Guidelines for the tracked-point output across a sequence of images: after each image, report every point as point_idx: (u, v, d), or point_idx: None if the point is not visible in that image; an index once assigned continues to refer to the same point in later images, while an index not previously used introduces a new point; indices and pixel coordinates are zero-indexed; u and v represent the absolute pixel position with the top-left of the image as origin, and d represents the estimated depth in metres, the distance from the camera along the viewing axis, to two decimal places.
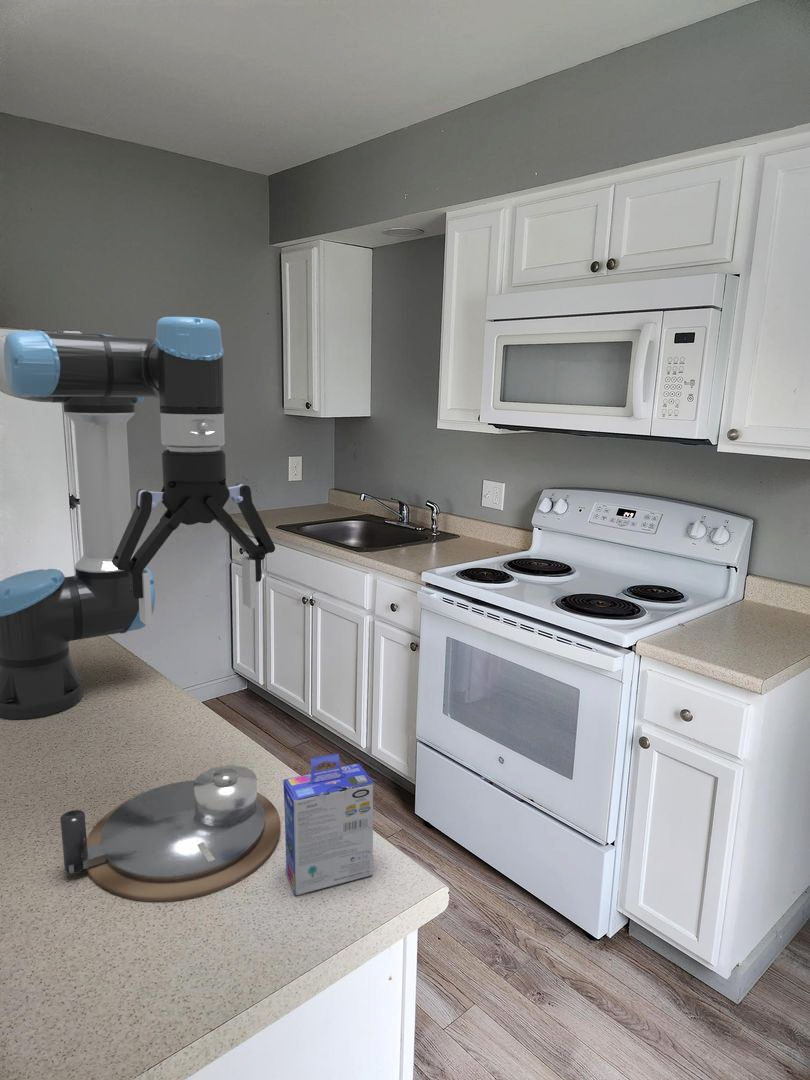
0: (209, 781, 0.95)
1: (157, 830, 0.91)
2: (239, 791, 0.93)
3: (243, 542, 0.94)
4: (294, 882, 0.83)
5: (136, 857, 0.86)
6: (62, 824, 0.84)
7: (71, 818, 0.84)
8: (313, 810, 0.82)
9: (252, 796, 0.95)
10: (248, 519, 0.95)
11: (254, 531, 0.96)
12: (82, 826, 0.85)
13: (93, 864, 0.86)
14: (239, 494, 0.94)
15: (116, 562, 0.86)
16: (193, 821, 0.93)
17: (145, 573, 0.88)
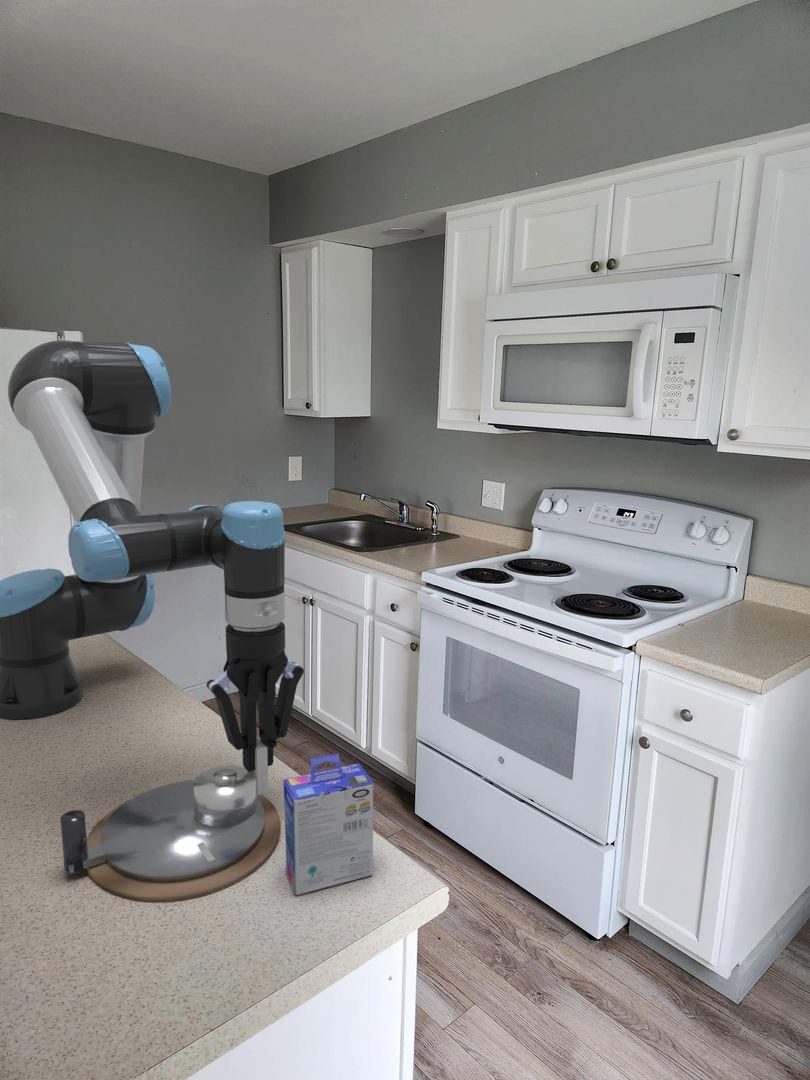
0: (209, 781, 0.95)
1: (157, 830, 0.91)
2: (238, 791, 0.93)
3: (268, 722, 0.96)
4: (294, 882, 0.83)
5: (136, 857, 0.86)
6: (62, 824, 0.84)
7: (71, 818, 0.84)
8: (313, 810, 0.82)
9: (252, 796, 0.94)
10: (282, 696, 0.98)
11: (279, 710, 0.98)
12: (82, 826, 0.85)
13: (93, 864, 0.86)
14: (291, 671, 0.98)
15: (233, 745, 0.94)
16: (193, 821, 0.93)
17: (258, 749, 0.96)
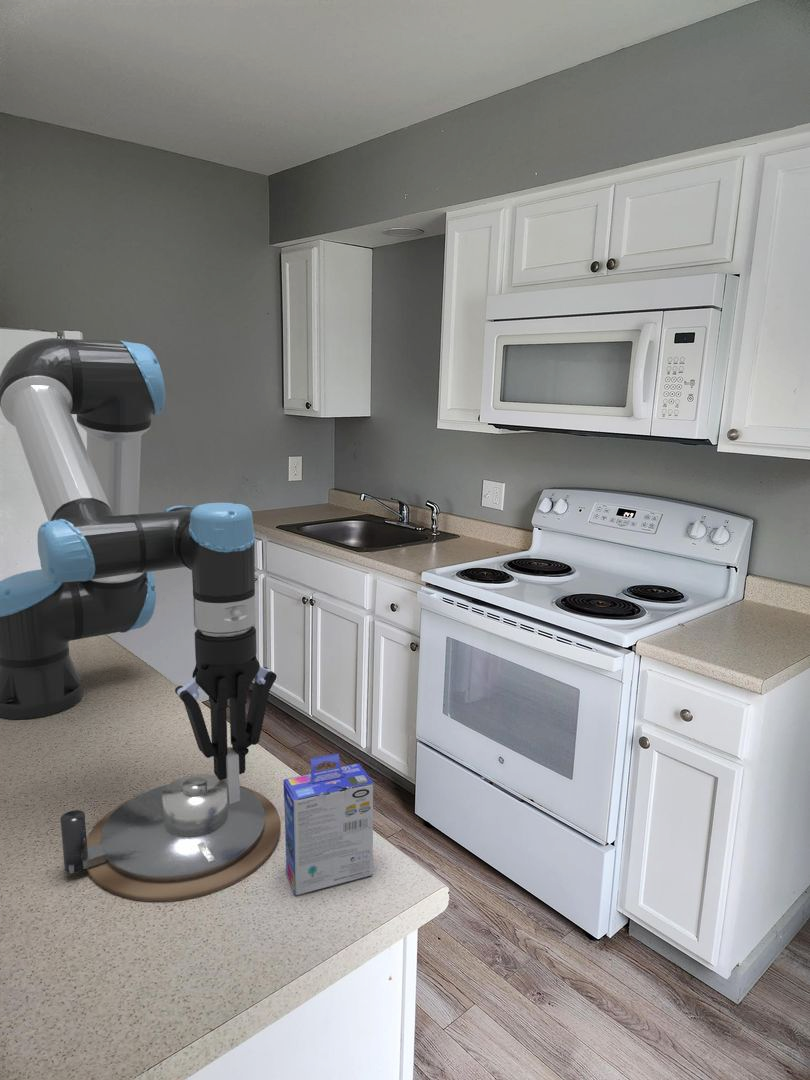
0: (178, 790, 0.93)
1: (157, 830, 0.91)
2: (207, 801, 0.91)
3: (239, 729, 0.94)
4: (294, 882, 0.83)
5: (136, 858, 0.86)
6: (62, 824, 0.84)
7: (71, 818, 0.84)
8: (313, 810, 0.82)
9: (222, 806, 0.92)
10: (254, 703, 0.96)
11: (251, 716, 0.96)
12: (82, 826, 0.85)
13: (93, 864, 0.86)
14: (263, 677, 0.95)
15: (203, 753, 0.92)
16: None
17: (229, 756, 0.94)
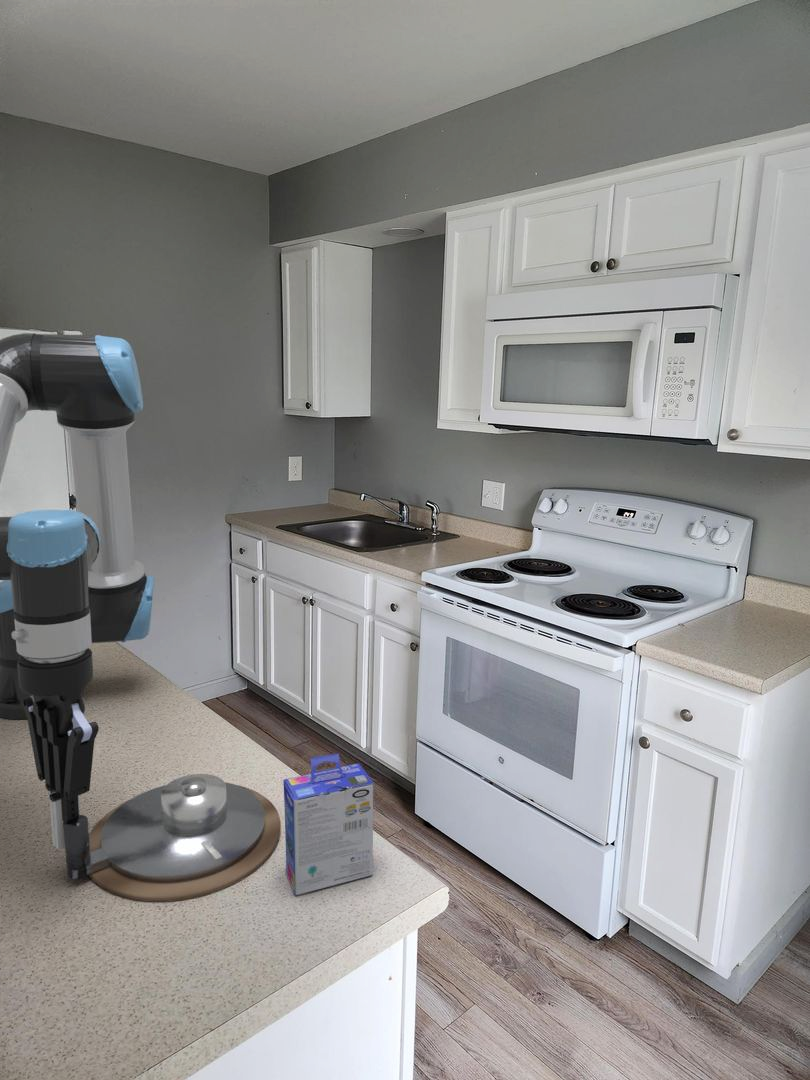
0: (177, 791, 0.93)
1: (158, 831, 0.91)
2: (209, 800, 0.91)
3: (55, 771, 0.82)
4: (294, 882, 0.83)
5: (141, 859, 0.86)
6: (65, 830, 0.83)
7: (74, 823, 0.83)
8: (313, 810, 0.82)
9: (222, 804, 0.93)
10: None
11: None
12: (86, 831, 0.84)
13: (97, 868, 0.85)
14: None
15: None
16: None
17: (53, 794, 0.84)
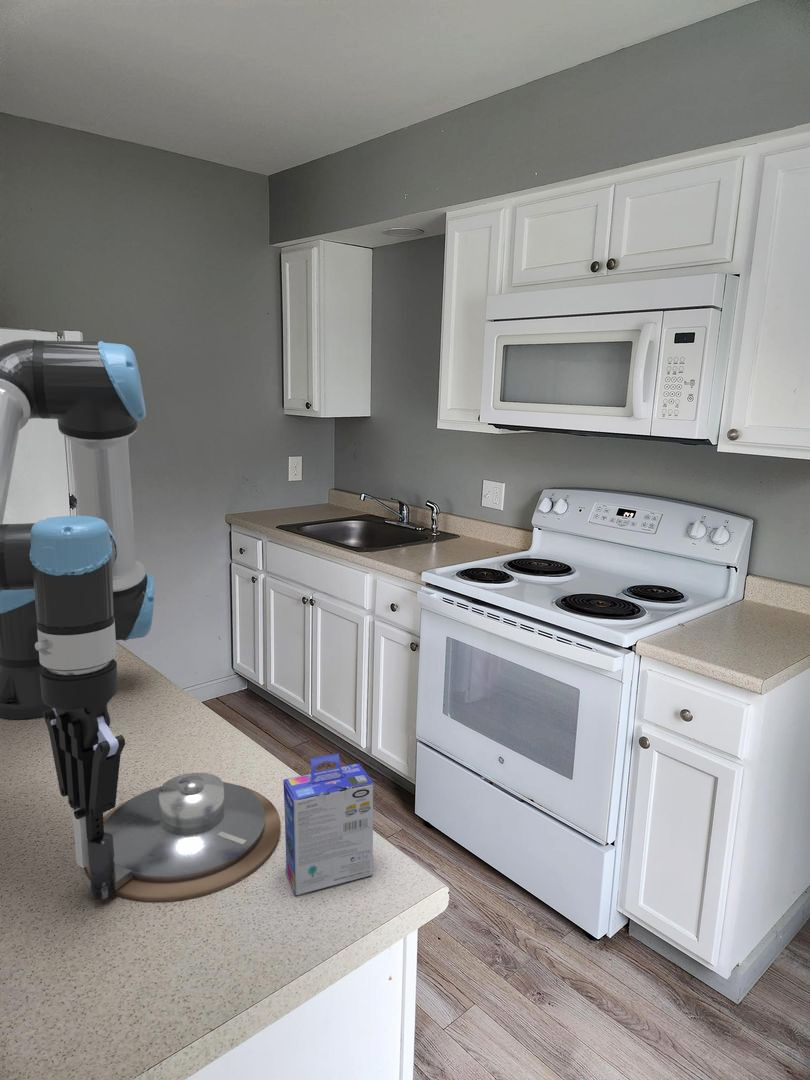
0: (175, 793, 0.92)
1: (165, 836, 0.90)
2: (214, 793, 0.92)
3: (80, 787, 0.79)
4: (294, 882, 0.83)
5: (168, 863, 0.85)
6: (94, 849, 0.79)
7: (101, 841, 0.80)
8: (313, 810, 0.82)
9: (223, 796, 0.94)
10: None
11: None
12: (113, 846, 0.81)
13: (122, 883, 0.83)
14: None
15: None
16: None
17: (76, 810, 0.81)
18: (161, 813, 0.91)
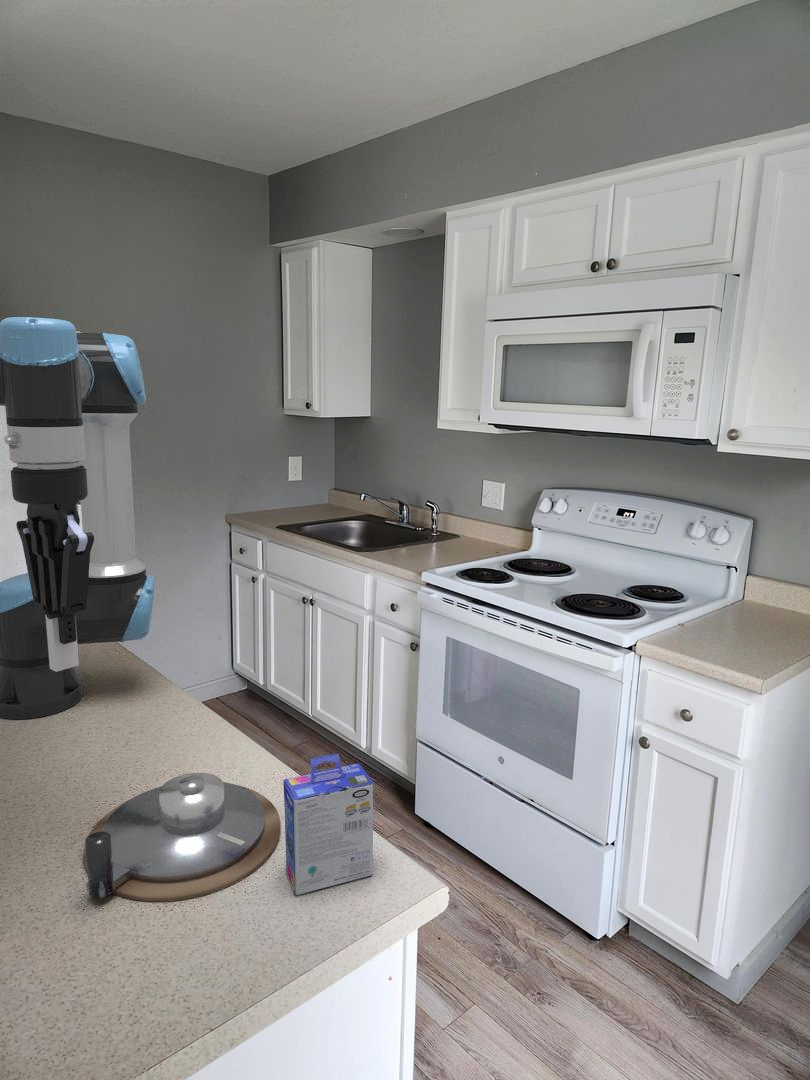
0: (175, 793, 0.92)
1: (164, 836, 0.90)
2: (214, 794, 0.92)
3: (52, 588, 0.81)
4: (294, 882, 0.83)
5: (166, 862, 0.85)
6: (91, 848, 0.80)
7: (98, 840, 0.81)
8: (313, 810, 0.82)
9: None
10: None
11: None
12: (110, 845, 0.81)
13: (120, 883, 0.83)
14: None
15: None
16: None
17: None
18: (161, 813, 0.92)
